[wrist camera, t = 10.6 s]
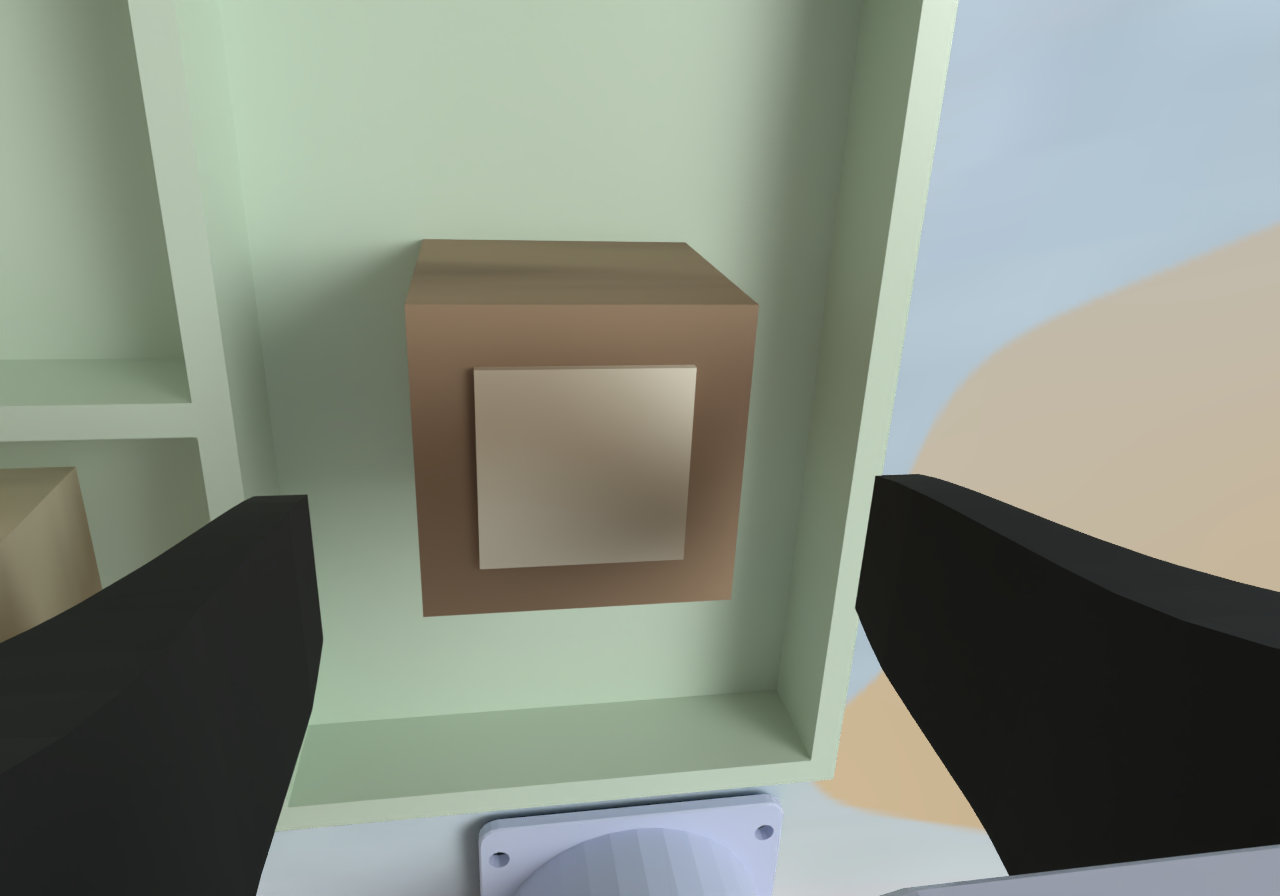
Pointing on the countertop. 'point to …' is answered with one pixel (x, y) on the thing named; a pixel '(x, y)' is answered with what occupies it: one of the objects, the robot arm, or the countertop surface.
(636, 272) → the brown cube
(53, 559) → the plain cube
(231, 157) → the organiser
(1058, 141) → the countertop surface
